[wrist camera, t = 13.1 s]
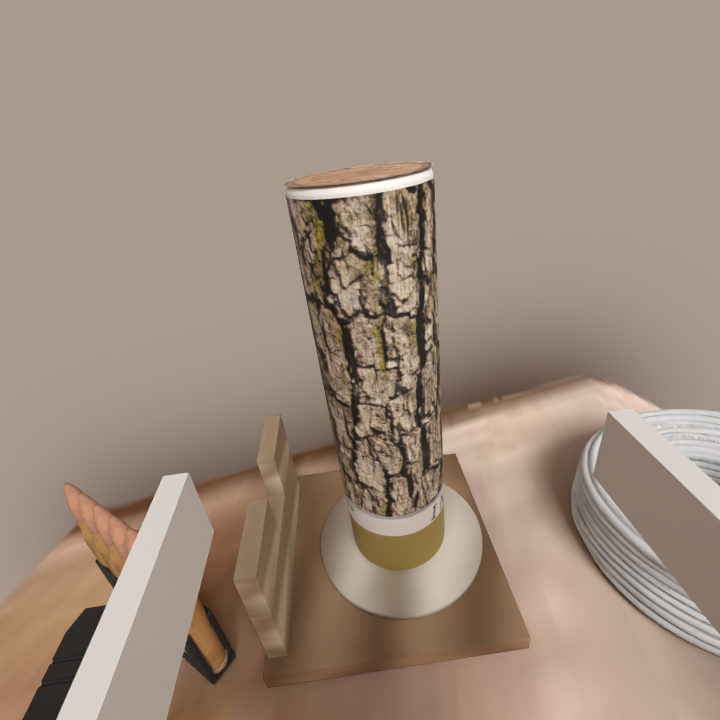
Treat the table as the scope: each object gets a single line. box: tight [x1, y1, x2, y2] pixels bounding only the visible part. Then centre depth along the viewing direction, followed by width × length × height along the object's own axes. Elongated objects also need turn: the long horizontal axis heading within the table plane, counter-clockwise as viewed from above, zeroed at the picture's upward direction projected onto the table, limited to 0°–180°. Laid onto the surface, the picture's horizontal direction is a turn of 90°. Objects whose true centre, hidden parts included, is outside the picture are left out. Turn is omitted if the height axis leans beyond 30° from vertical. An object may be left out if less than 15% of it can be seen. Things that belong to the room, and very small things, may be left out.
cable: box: [571, 409, 720, 656], centre depth 28 cm, size 18×18×6 cm
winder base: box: [233, 415, 530, 688], centre depth 30 cm, size 16×16×9 cm
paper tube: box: [284, 162, 445, 570], centre depth 25 cm, size 7×7×25 cm
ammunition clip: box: [64, 483, 236, 684], centre depth 26 cm, size 11×2×12 cm, turn 57°
